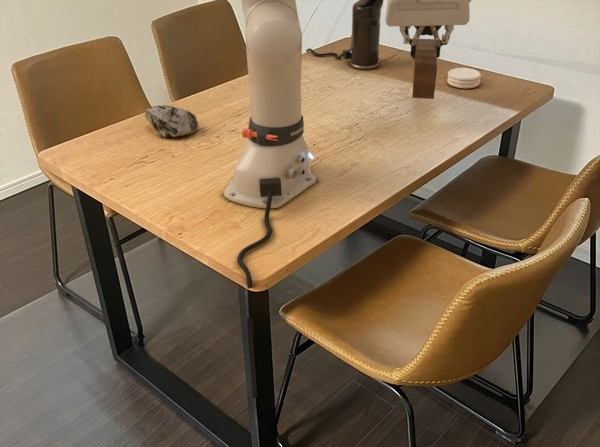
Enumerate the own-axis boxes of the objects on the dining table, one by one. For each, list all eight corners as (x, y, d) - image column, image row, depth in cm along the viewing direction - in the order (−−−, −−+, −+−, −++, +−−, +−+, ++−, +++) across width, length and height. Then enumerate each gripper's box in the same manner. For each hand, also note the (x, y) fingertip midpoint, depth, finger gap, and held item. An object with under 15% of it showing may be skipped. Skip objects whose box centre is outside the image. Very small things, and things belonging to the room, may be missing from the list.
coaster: (442, 78, 197) (444, 68, 195) (473, 77, 198) (474, 66, 196) (452, 89, 189) (453, 78, 187) (484, 88, 189) (486, 77, 188)
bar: (433, 99, 160) (437, 68, 155) (412, 97, 160) (415, 67, 156) (432, 67, 180) (435, 39, 176) (413, 66, 181) (416, 38, 177)
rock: (203, 130, 165) (200, 105, 161) (171, 142, 159) (167, 116, 155) (172, 117, 174) (168, 92, 171) (140, 127, 168) (136, 102, 165)
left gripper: (471, -19, 149) (466, 38, 157) (386, -17, 152) (384, 40, 159) (475, -14, 144) (469, 46, 152) (386, -11, 147) (385, 47, 154)
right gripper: (457, -6, 169) (449, 55, 178) (403, -8, 171) (399, 53, 180) (458, 0, 162) (450, 64, 172) (403, -1, 165) (398, 61, 174)
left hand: (425, 43), depth 155 cm, fingers open, 8 cm apart
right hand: (424, 58), depth 176 cm, fingers closed on bar, 5 cm apart
